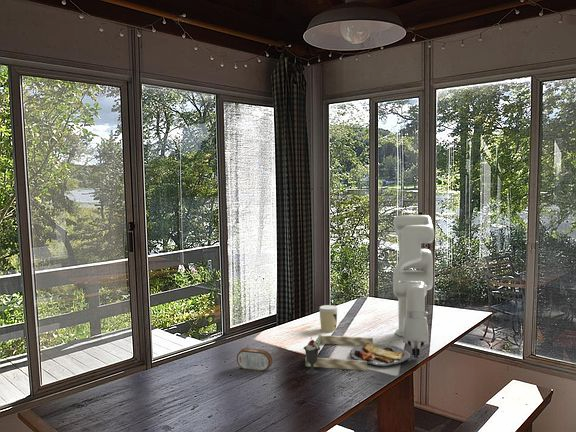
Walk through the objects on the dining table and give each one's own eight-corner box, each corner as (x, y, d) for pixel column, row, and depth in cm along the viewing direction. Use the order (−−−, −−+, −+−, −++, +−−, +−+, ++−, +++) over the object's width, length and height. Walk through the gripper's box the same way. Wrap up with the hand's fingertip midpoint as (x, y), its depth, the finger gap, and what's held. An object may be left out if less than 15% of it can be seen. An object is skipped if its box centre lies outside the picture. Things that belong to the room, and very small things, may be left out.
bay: (372, 345, 225) (372, 337, 225) (366, 370, 195) (366, 361, 195) (319, 342, 231) (319, 335, 231) (305, 366, 201) (305, 357, 201)
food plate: (339, 358, 209) (339, 350, 209) (369, 345, 226) (369, 337, 226) (390, 374, 192) (390, 365, 192) (418, 358, 209) (419, 350, 209)
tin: (272, 370, 198) (272, 349, 197) (270, 372, 195) (269, 352, 194) (239, 366, 203) (238, 346, 202) (236, 369, 200) (235, 349, 199)
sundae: (309, 377, 189) (308, 339, 188) (301, 371, 195) (300, 334, 194) (323, 373, 192) (323, 336, 191) (315, 368, 198) (314, 332, 197)
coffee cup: (338, 332, 246) (338, 309, 245) (320, 332, 246) (319, 309, 245) (337, 327, 255) (336, 304, 254) (319, 327, 255) (318, 305, 255)
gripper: (433, 312, 206) (433, 354, 207) (397, 311, 209) (398, 352, 211) (434, 317, 199) (434, 361, 200) (397, 315, 202) (397, 358, 203)
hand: (415, 356), depth 205 cm, fingers closed
